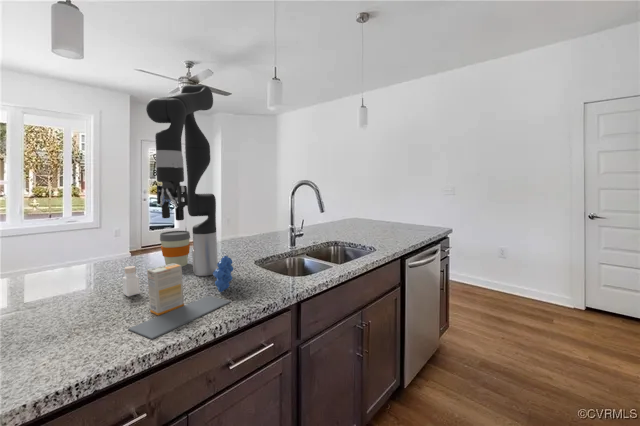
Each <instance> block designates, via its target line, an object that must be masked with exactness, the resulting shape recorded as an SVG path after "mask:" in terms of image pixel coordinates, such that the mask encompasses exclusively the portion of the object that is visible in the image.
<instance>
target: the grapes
mask: <svg viewBox="0 0 640 426" xmlns="http://www.w3.org/2000/svg"><path fill="white" fill-rule="evenodd" d="M232 264H233V260H232V258H231V257H229V256H228V255H224V256H223V257H222V258H221V259H220V260H219V261H218V264H217V266H218V269H216V270H215V271H214V272H213V277H214V278H216V280H214V281H215V282H214V285H215V286H216V288H217V290H218V292H220V293H223V292H224V291H225V290H228V288H229V287H230V285H231V284H230V282H232V280H233V275H232V272H233V271H234V270H235V267H234V266H233V265H232Z"/></svg>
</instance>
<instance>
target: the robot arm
mask: <svg viewBox="0 0 640 426" xmlns="http://www.w3.org/2000/svg"><path fill="white" fill-rule="evenodd" d="M213 95H214V94H213V92H212V89H211V88H210V87H208V86H207V85H202V84H200V85H199V84H196V85H195V84H192V85H191V84H185V85H182V87H181V89H180V93H176V94H173V95H170V96H164V97H163V96H162V97H154V98H151V99H150V100H149V101H148V102H147V104H146V108H145V110H146V114H147V116H148V118H149V119H150V120H151V121H152V122H153V123H156V124H169V127H168V128H166V129H163V130H162V129H161V130H160V131H157V132H156V133H155V137H154V138H155V170H156V181H157V183H161V185H160V184H159V185H156V202H157V205H160V207H161V217H162V219H170V218H171V210H170V208H171V207H170V205H171V203H173V205H174V207H175V208H174V210H175V211H174V212H175V220H176V221H178V222H179V221H183V220H184V219H185V211H184V208H185V207H186V206H187V207H186V208H187V214H188V215H189V217H207V218H206V219H205V220H203V221H202V222H201V223H200V222H199V223H197V224H195V225H193V226H192V242H193V244H192V246H193V250H191V255H192V259H191V260H192V273H193V274H194V275H196V276H198V277H199V276H200V277H204V276H207V277H208V276H212V275H213V272H214V271H215V270H216V269H218V266H217V264H218V262H219V261H218V239H217V237H218V236H217V219H216V217H217V216H216V215H217V211H216V210H217V199H216V196H215V194H213V193H196V190H197V187H198V184H199V182H200V180H201V179H202V176H203V175H204V174H205V173H206V170H207V169H208V167H209V165H210V163H211V146H210V142H209V140H208V139H207V137H206V136H205V134H204V133H203V131H202V130H201V128H200V127H199V125H198V124H197V122H196V118H195V112H199V111H209V110H211V109H212V107H213V105H214V96H213ZM183 131H184V150H185V151H184V154H185V164H186V176H187V178H186V179H187V180H186V181H187V184H186V185H181V183H183V182H185V170H184V157H183V150H182V149H183V148H182V136H183ZM213 276H214V275H213Z"/></svg>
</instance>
